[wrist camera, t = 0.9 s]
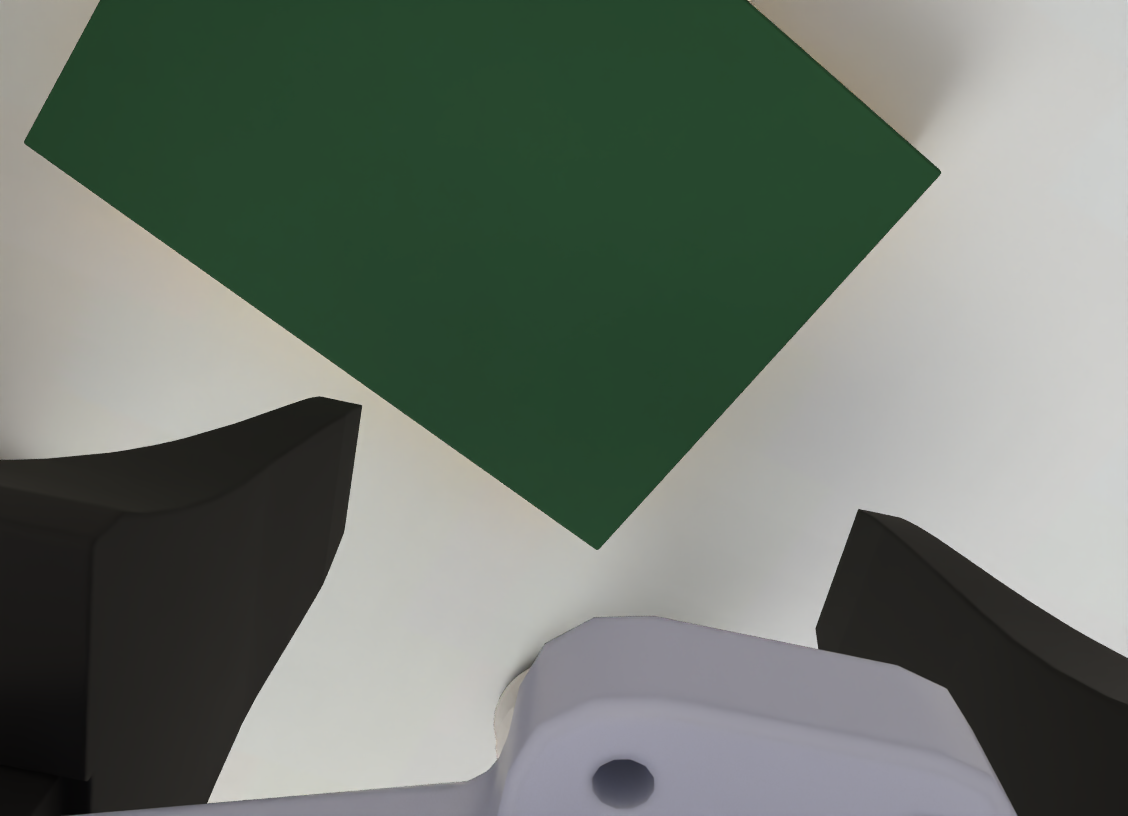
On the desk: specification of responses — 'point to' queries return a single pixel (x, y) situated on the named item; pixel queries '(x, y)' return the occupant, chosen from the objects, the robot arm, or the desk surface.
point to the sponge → (498, 205)
